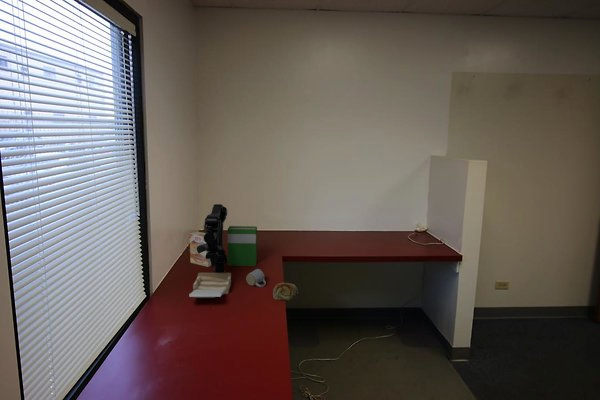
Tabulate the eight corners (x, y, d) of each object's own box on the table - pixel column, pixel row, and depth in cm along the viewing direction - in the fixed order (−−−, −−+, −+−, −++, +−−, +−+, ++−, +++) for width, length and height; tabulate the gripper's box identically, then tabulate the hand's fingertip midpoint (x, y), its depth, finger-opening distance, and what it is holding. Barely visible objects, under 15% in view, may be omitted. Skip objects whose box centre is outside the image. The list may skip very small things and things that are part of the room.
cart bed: (198, 283, 204) (198, 272, 203) (231, 283, 205) (230, 272, 204) (193, 294, 191) (192, 282, 190) (227, 294, 192) (227, 282, 191)
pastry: (275, 303, 184) (276, 288, 183) (269, 292, 196) (270, 278, 194) (302, 299, 189) (302, 285, 187) (294, 289, 200) (295, 275, 199)
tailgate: (195, 289, 189) (189, 294, 176) (224, 289, 190) (220, 294, 177) (195, 293, 189) (189, 298, 176) (224, 293, 190) (220, 297, 177)
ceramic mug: (245, 284, 205) (245, 271, 203) (254, 279, 211) (254, 267, 210) (259, 289, 199) (260, 276, 197) (268, 284, 206) (269, 271, 204)
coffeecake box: (190, 262, 235) (189, 233, 231) (197, 259, 241) (197, 231, 238) (207, 267, 228) (207, 237, 225) (215, 263, 235) (214, 234, 231)
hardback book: (256, 261, 240) (256, 226, 235) (255, 265, 233) (255, 229, 228) (230, 261, 239) (229, 226, 235) (228, 265, 232) (227, 229, 227)
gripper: (199, 235, 204) (199, 262, 206) (195, 243, 186) (195, 273, 188) (219, 235, 206) (219, 262, 208) (217, 243, 188) (217, 272, 190)
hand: (213, 267), depth 198 cm, fingers closed
